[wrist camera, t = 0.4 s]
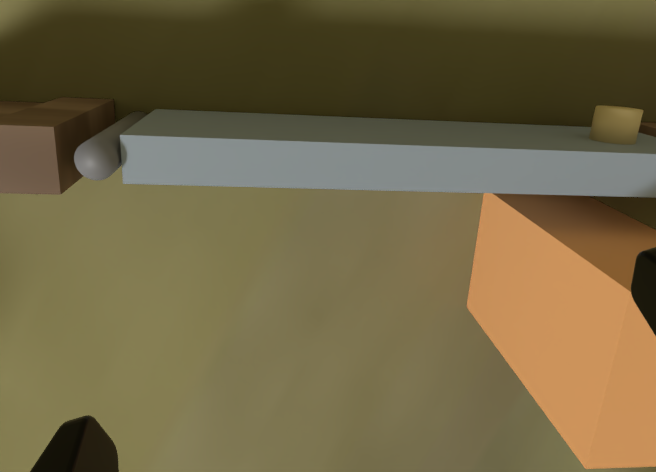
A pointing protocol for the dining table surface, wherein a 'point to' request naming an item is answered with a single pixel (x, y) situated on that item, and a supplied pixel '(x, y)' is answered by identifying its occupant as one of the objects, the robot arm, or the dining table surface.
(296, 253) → the dining table surface
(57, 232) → the dining table surface
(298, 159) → the door
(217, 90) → the dining table surface
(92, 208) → the dining table surface
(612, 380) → the tan rectangular slab
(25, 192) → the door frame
